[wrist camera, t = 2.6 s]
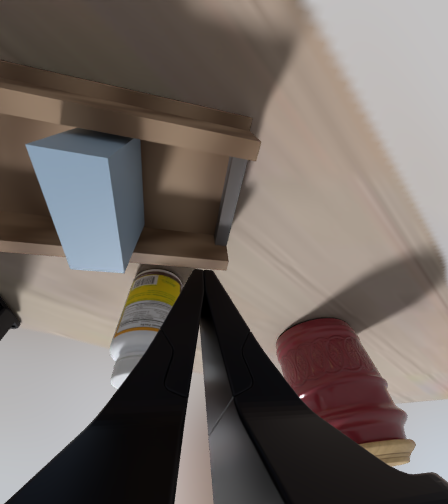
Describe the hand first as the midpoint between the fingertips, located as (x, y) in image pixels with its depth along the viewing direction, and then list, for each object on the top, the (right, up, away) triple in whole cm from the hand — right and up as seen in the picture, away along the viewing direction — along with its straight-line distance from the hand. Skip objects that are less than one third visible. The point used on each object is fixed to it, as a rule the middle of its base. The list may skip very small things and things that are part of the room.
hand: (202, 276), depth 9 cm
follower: (-7, +6, +6) cm, 11 cm away
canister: (+16, -13, +26) cm, 33 cm away
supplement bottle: (-7, -2, +15) cm, 16 cm away
